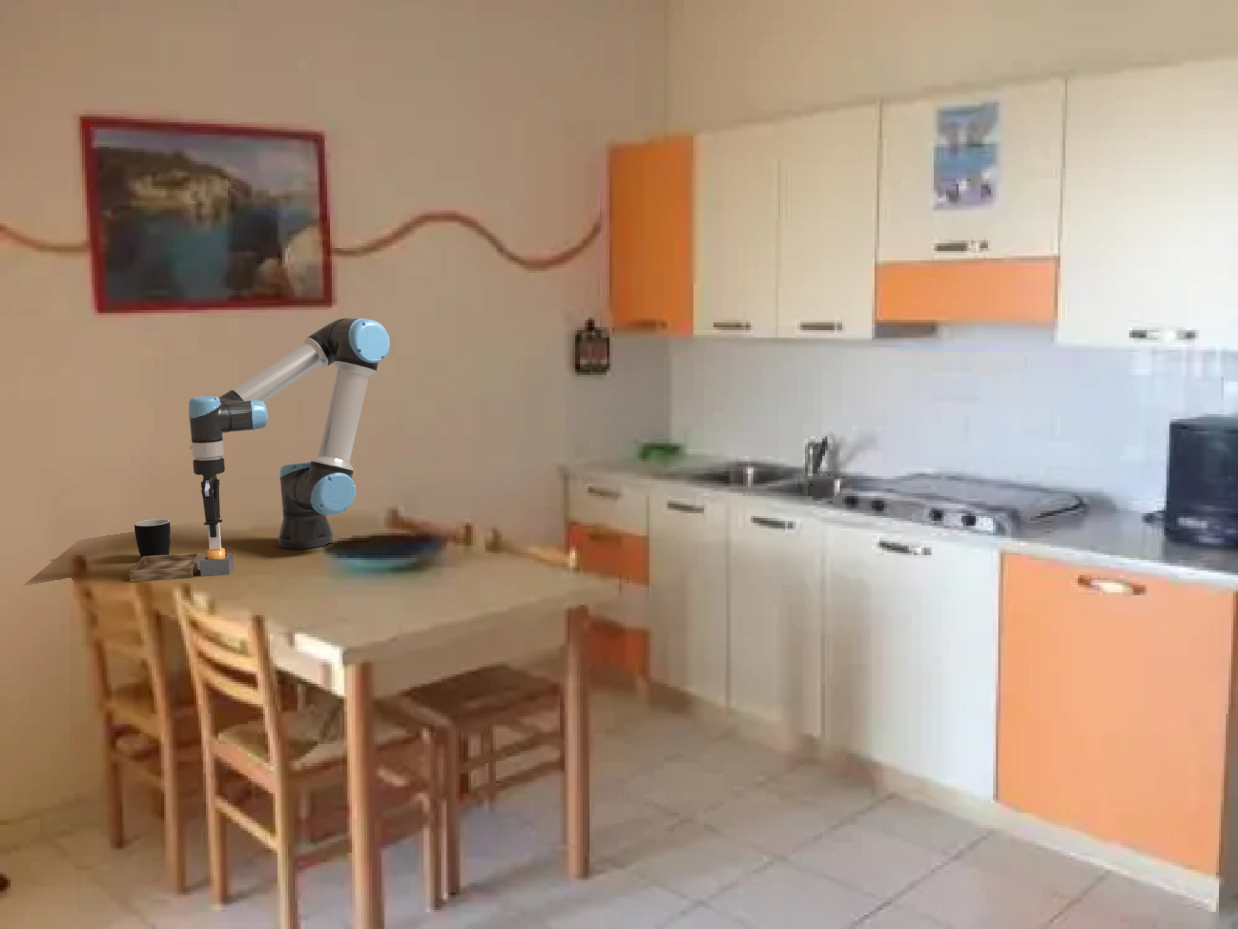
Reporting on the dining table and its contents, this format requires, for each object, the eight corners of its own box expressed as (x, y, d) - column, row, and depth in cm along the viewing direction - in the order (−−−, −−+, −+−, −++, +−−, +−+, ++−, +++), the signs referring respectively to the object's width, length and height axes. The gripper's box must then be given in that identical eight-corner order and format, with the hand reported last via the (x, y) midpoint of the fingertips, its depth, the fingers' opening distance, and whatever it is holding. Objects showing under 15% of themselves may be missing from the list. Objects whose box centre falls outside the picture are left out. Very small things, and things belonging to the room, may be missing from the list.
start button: (227, 566, 313) (225, 547, 312) (224, 570, 309) (223, 551, 308) (209, 567, 312) (208, 548, 311) (206, 571, 308) (205, 552, 307)
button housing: (233, 567, 314) (232, 552, 314) (229, 574, 308) (228, 559, 307) (205, 569, 313) (204, 554, 313) (201, 576, 306) (199, 560, 306)
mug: (178, 558, 327) (175, 521, 325) (146, 564, 320) (143, 527, 319) (158, 552, 335) (155, 516, 333) (126, 558, 329) (123, 521, 327)
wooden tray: (203, 562, 322) (202, 552, 321) (192, 577, 305) (191, 568, 305) (144, 565, 319) (143, 556, 319) (129, 581, 303) (128, 571, 302)
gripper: (197, 454, 311) (204, 544, 315) (188, 462, 299) (195, 555, 302) (227, 453, 313) (234, 542, 316) (219, 461, 300) (226, 553, 304)
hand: (215, 548), depth 309 cm, fingers closed
